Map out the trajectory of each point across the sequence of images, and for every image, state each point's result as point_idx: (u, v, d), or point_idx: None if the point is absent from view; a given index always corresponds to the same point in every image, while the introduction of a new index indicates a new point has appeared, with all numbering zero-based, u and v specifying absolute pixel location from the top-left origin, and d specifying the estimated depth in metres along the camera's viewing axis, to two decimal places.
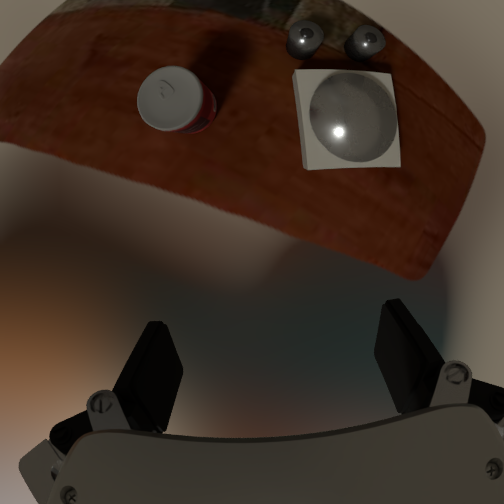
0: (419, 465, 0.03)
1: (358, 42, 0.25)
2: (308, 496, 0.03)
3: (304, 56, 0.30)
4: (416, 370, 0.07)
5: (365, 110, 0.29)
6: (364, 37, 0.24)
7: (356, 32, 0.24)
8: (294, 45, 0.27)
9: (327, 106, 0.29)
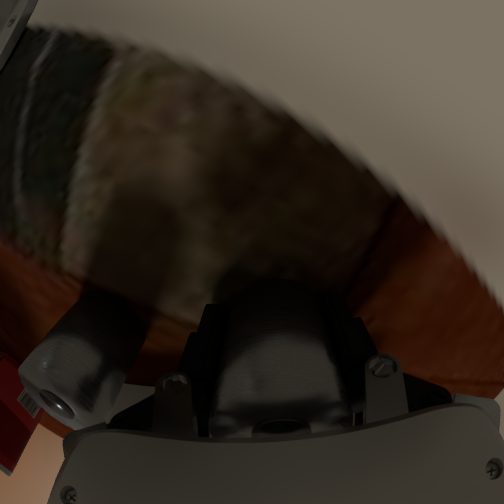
0: (419, 465, 0.03)
1: None
2: (308, 496, 0.03)
3: None
4: (342, 360, 0.08)
5: None
6: (247, 436, 0.07)
7: None
8: None
9: None
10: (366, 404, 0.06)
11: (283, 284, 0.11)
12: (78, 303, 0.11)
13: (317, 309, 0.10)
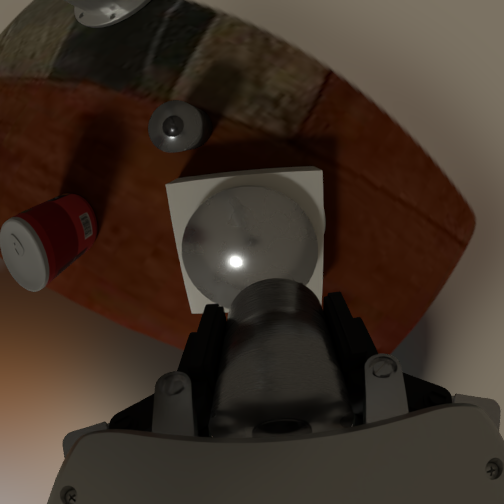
0: (419, 465, 0.03)
1: None
2: (308, 496, 0.03)
3: None
4: (342, 360, 0.08)
5: (264, 245, 0.24)
6: (248, 436, 0.07)
7: None
8: None
9: (205, 245, 0.24)
10: (366, 404, 0.06)
11: (284, 284, 0.11)
12: None
13: (318, 309, 0.10)
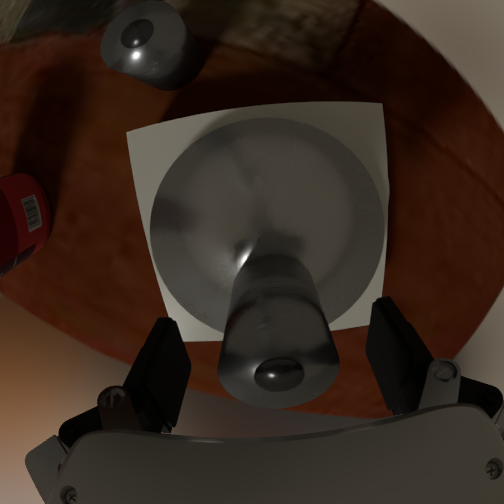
0: (419, 465, 0.03)
1: (229, 389, 0.10)
2: (308, 496, 0.03)
3: (166, 84, 0.14)
4: (404, 367, 0.07)
5: (296, 225, 0.13)
6: (251, 379, 0.09)
7: (221, 363, 0.09)
8: None
9: (190, 227, 0.13)
10: None
11: (280, 258, 0.13)
12: None
13: (308, 278, 0.13)
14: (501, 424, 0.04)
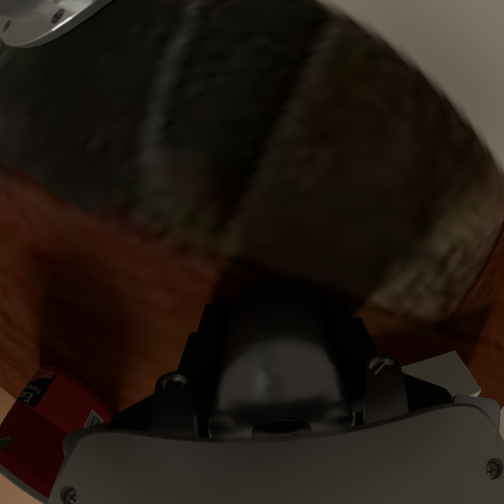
0: (419, 465, 0.03)
1: None
2: (308, 496, 0.03)
3: None
4: (342, 360, 0.08)
5: None
6: None
7: None
8: None
9: None
10: (366, 404, 0.06)
11: None
12: (263, 295, 0.10)
13: None
14: None
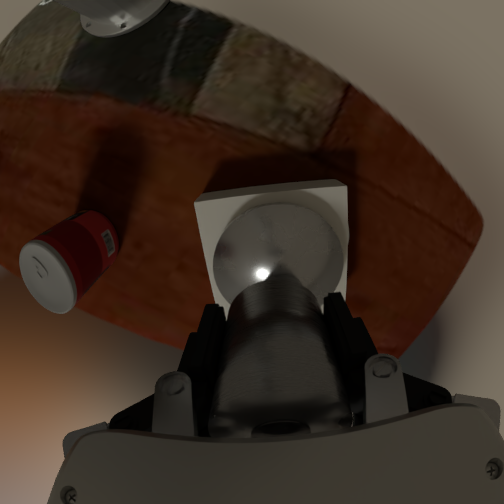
0: (419, 465, 0.03)
1: None
2: (308, 496, 0.03)
3: None
4: (342, 360, 0.08)
5: (294, 259, 0.25)
6: None
7: None
8: None
9: (236, 261, 0.25)
10: (366, 404, 0.06)
11: (285, 277, 0.25)
12: (262, 296, 0.10)
13: None
14: None
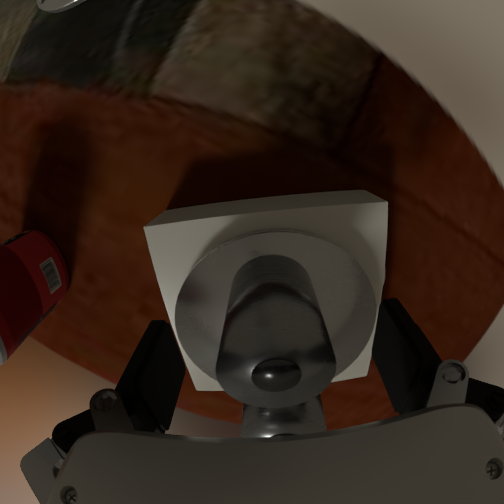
0: (419, 465, 0.03)
1: None
2: (308, 496, 0.03)
3: None
4: (413, 369, 0.07)
5: None
6: None
7: None
8: None
9: (210, 319, 0.15)
10: None
11: None
12: (261, 266, 0.13)
13: None
14: None
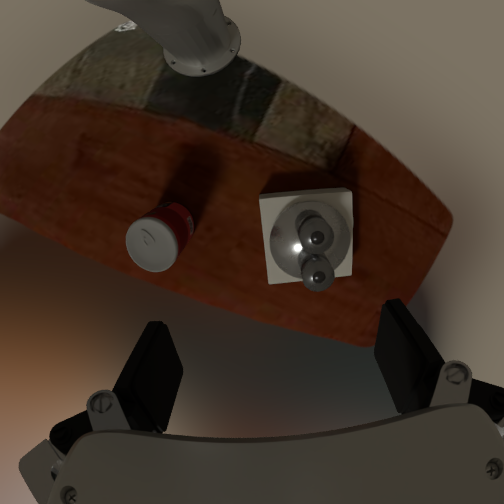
0: (419, 465, 0.03)
1: (304, 284, 0.36)
2: (308, 496, 0.03)
3: None
4: (416, 370, 0.07)
5: None
6: (311, 279, 0.35)
7: (303, 274, 0.35)
8: None
9: (285, 236, 0.40)
10: None
11: None
12: (307, 212, 0.37)
13: (324, 253, 0.39)
14: None
